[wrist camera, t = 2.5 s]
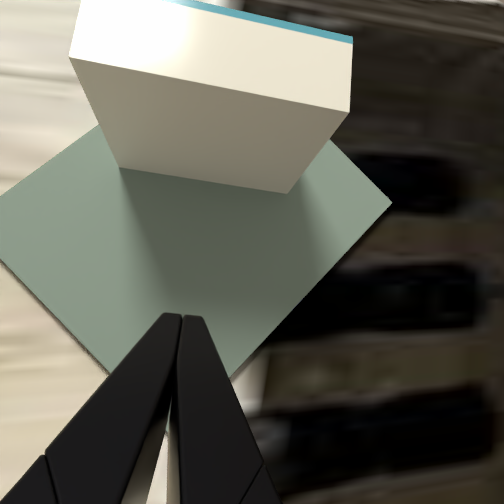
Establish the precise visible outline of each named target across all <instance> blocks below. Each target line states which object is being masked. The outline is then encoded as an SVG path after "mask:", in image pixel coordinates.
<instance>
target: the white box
mask: <svg viewBox="0 0 504 504" xmlns="http://www.w3.org/2000/svg"><path fill="white" fill-rule="evenodd" d="M352 46H353V37H351V36H346V35H342V34H338V33H333V32H329V31H325V30H320V29H316V28H312V27H307V26H303V25H299V24H294V23H290V22H286V21H281V20H277V19H273V18H268V17H264V16H259V15H255V14H251V13H246V12H242V11H238V10H233V9H229V8H225V7H220V6H216V5H212V4H207V3H203V2H199V1H194V0H82V2H81V7H80V11H79V15H78V19H77V23H76V28H75V32H74V36H73V40H72V44H71V49H70V53H69V59H70V61H71V63H72V65H73V68H74V70H75V72H76V74H77V76H78V79H79V81H80V83H81V85H82V87H83V90H84V92H85V94H86V96H87V98H88V101H89V103H90V105H91V107H92V109H93V112H94V114H95V116H96V118H97V120H98V123H99V125H100V127H101V129H102V131H103V134H104V136H105V138H106V140H107V142H108V145H109V147H110V149H111V151H112V153H113V156H114V158H115V160H116V162H117V164H118V167H121V168H127V169H133V170H139V171H146V172H152V173H158V174H165V175H171V176H177V177H183V178H190V179H196V180H202V181H209V182H215V183H221V184H227V185H234V186H240V187H246V188H253V189H259V190H265V191H271V192H278V193H284V194H288V192H289V191H290V190H291V188H292V187H293V186H294V184H295V183H296V182H297V180H298V179H299V178H300V177H301V175H302V174H303V173H304V171H305V170H306V169H307V167H308V166H309V165H310V163H311V162H312V161H313V159H314V158H315V157H316V156H317V154H318V153H319V152H320V150H321V149H322V148H323V146H324V145H325V144H326V142H327V141H328V140H329V138H330V137H331V136H332V134H333V133H334V132H335V131H336V129H337V128H338V127H339V125H340V124H341V123H342V121H343V120H344V119H345V117H346V116H347V115H348V113H349V108H350V87H351V66H352Z"/></svg>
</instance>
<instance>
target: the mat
mask: <svg viewBox="0 0 504 504" xmlns="http://www.w3.org/2000/svg"><path fill="white" fill-rule="evenodd" d="M391 203H392V202H391V201H390V200H389V199H388V198H387V197H386V196H385V195H384V194H383V193H382V192H381V191H380V190H379V189H378V188H377V187H376V186H375V185H374V184H373V183H372V182H371V181H370V180H369V179H368V178H367V177H366V176H365V175H364V174H363V173H362V172H361V171H360V170H359V169H358V168H357V167H356V166H355V165H354V164H353V163H352V162H351V161H350V160H349V159H348V158H347V157H346V156H345V155H344V153H343V152H342V151H341V150H340V149H339V148H338V147H337V146H336V145H335V144H334V143H333V142H332V141H331V140H330V139H329V140H328V141H327V142H326V144H325V145H324V146H323V148H322V149H321V150H320V152H319V153H318V154H317V156H316V157H315V158H314V159H313V161H312V162H311V163H310V165H309V166H308V167H307V169H306V170H305V171H304V173H303V174H302V175H301V177H300V178H299V179H298V180H297V182H296V183H295V184H294V186H293V187H292V188H291V190H290V191H289V192H288V194H284V193H278V192H271V191H265V190H259V189H253V188H246V187H240V186H234V185H227V184H221V183H215V182H209V181H202V180H196V179H190V178H183V177H177V176H171V175H165V174H158V173H152V172H146V171H139V170H133V169H127V168H121V167H118V164H117V162H116V160H115V158H114V156H113V153H112V151H111V149H110V147H109V145H108V142H107V140H106V138H105V136H104V134H103V131H102V129H101V127H100V125H97V126H96V127H94V128H93V129H92V130H90V131H89V132H88V133H86V134H85V135H84V136H82V137H81V138H79V139H78V140H77V141H75V142H74V143H73V144H71V145H70V146H68V147H67V148H66V149H64V150H63V151H62V152H60V153H59V154H57V155H56V156H55V157H53V158H52V159H51V160H49V161H48V162H47V163H45V164H44V165H42V166H41V167H40V168H38V169H37V170H36V171H34V172H33V173H31V174H30V175H29V176H27V177H26V178H25V179H23V180H22V181H20V182H19V183H18V184H16V185H15V186H14V187H12V188H11V189H10V190H8V191H7V192H5V193H4V194H3V195H1V196H0V259H1V260H2V261H3V262H4V263H5V264H6V265H7V266H8V267H9V268H10V269H11V270H12V271H13V272H14V273H15V275H16V276H17V277H18V278H19V279H20V280H21V281H22V282H23V283H24V284H25V285H26V286H27V287H28V288H29V289H30V290H31V291H32V292H33V293H34V294H35V295H36V296H37V297H38V298H39V299H40V300H41V302H42V303H43V304H44V305H45V306H46V307H47V308H48V309H49V310H50V311H51V312H52V313H53V314H54V315H55V316H56V317H57V318H58V319H59V320H60V321H61V322H62V323H63V324H64V325H65V326H66V328H67V329H68V330H69V331H70V332H71V333H72V334H73V335H74V336H75V337H76V338H77V339H78V340H79V341H80V342H81V343H82V344H83V345H84V346H85V347H86V348H87V349H88V350H89V351H90V352H91V354H92V355H93V356H94V357H95V358H96V359H97V360H98V361H99V362H100V363H101V364H102V365H103V366H104V367H105V368H106V369H107V370H108V371H109V372H110V373H111V372H112V371H113V370H114V369H115V368H116V366H117V365H118V364H119V363H120V362H121V361H122V359H123V358H124V357H125V356H126V355H127V354H128V352H129V351H130V350H131V349H132V348H133V347H134V345H135V344H136V343H137V342H138V341H139V339H140V338H141V337H142V336H143V335H144V334H145V332H146V331H147V330H148V329H149V328H150V327H151V325H152V324H153V323H154V322H155V321H156V320H157V318H158V317H159V316H160V315H161V314H162V313H164V312H169V313H179V314H181V315H182V319H183V316H184V315H186V314H188V315H197V316H202V317H203V318H204V320H205V323H206V325H207V327H208V330H209V332H210V334H211V337H212V339H213V341H214V344H215V346H216V349H217V351H218V353H219V356H220V358H221V360H222V363H223V365H224V368H225V370H226V372H227V375H228V377H230V376H231V375H232V374H233V373H234V372H235V371H236V370H237V369H238V368H239V366H240V365H241V364H242V363H243V362H244V361H245V360H246V359H247V358H248V357H249V356H250V355H251V354H252V353H253V351H254V350H255V349H256V348H257V347H258V346H259V345H260V344H261V343H262V342H263V341H264V340H265V339H266V337H267V336H268V335H269V334H270V333H271V332H272V331H273V330H274V329H275V328H276V327H277V326H278V325H279V324H280V322H281V321H282V320H283V319H284V318H285V317H286V316H287V315H288V314H289V313H290V312H291V311H292V310H293V309H294V307H295V306H296V305H297V304H298V303H299V302H300V301H301V300H302V299H303V298H304V297H305V296H306V295H307V294H308V292H309V291H310V290H311V289H312V288H313V287H314V286H315V285H316V284H317V283H318V282H319V281H320V280H321V278H322V277H323V276H324V275H325V274H326V273H327V272H328V271H329V270H330V269H331V268H332V267H333V266H334V265H335V263H336V262H337V261H338V260H339V259H340V258H341V257H342V256H343V255H344V254H345V253H346V252H347V251H348V250H349V248H350V247H351V246H352V245H353V244H354V243H355V242H356V241H357V240H358V239H359V238H360V237H361V236H362V234H363V233H364V232H365V231H366V230H367V229H368V228H369V227H370V226H371V225H372V224H373V223H374V222H375V221H376V219H377V218H378V217H379V216H380V215H381V214H382V213H383V212H384V211H385V210H386V209H387V208H388V207H389V206H390V204H391ZM170 407H171V405H170ZM169 415H170V411H169ZM168 428H169V417H168V422H167V426H166V431H167V432H168Z"/></svg>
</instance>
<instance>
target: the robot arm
mask: <svg viewBox="0 0 504 504" xmlns="http://www.w3.org/2000/svg"><path fill="white" fill-rule="evenodd" d="M170 405H171V407H170ZM169 411H170V415H169ZM168 417H169V428H168V463H167V503H166V504H283V503H282V501H281V499H280V497H279V494H278V492H277V490H276V488H275V485H274V483H273V481H272V478H271V476H270V474H269V471H268V469H267V467H266V466H265V465H263V464H264V460H263V458H262V455H261V453H260V450H259V448H258V446H257V443H256V441H255V439H254V436H253V434H252V431H251V429H250V427H249V424H248V422H247V420H246V417H245V415H244V413H243V410H242V408H241V405H240V403H239V401H238V398H237V396H236V394H235V391H234V389H233V386H232V384H231V382H230V379H229V377H228V375H227V372H226V370H225V368H224V365H223V363H222V360H221V358H220V356H219V353H218V351H217V349H216V346H215V344H214V341H213V339H212V337H211V334H210V332H209V330H208V327H207V325H206V323H205V320H204V318H203V317H202V316H197V315H188V314H186V315H184V316H183V319H182V315H181V314H179V313H169V312H164V313H162V314H161V315H160V316H159V317H158V318H157V320H156V321H155V322H154V323H153V324H152V325H151V327H150V328H149V329H148V330H147V331H146V332H145V334H144V335H143V336H142V337H141V338H140V339H139V341H138V342H137V343H136V344H135V345H134V347H133V348H132V349H131V350H130V351H129V352H128V354H127V355H126V356H125V357H124V358H123V359H122V361H121V362H120V363H119V364H118V365H117V366H116V368H115V369H114V370H113V371H112V372H111V373H110V375H109V376H108V377H107V378H106V379H105V380H104V382H103V383H102V384H101V385H100V386H99V387H98V389H97V390H96V391H95V392H94V393H93V395H92V396H91V397H90V398H89V399H88V400H87V402H86V403H85V404H84V405H83V406H82V407H81V409H80V410H79V411H78V412H77V413H76V414H75V416H74V417H73V418H72V419H71V420H70V421H69V423H68V424H67V425H66V426H65V427H64V428H63V430H62V431H61V432H60V433H59V434H58V436H57V437H56V438H55V439H54V440H53V441H52V443H51V444H50V445H49V446H48V447H47V448H46V450H45V455H40V456H39V457H38V459H37V460H36V461H35V462H34V463H33V464H32V466H31V467H30V468H29V469H28V470H27V472H26V473H25V474H24V475H23V476H22V477H21V479H20V480H19V481H18V482H17V483H16V484H15V485H14V486H13V487H12V489H11V490H10V491H9V492H8V493H7V494H6V495H5V496H4V497H3V499H2V500H1V501H0V504H146V501H147V497H148V494H149V490H150V486H151V482H152V479H153V475H154V471H155V468H156V464H157V460H158V457H159V453H160V449H161V445H162V442H163V438H164V434H165V430H166V426H167V422H168Z"/></svg>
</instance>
